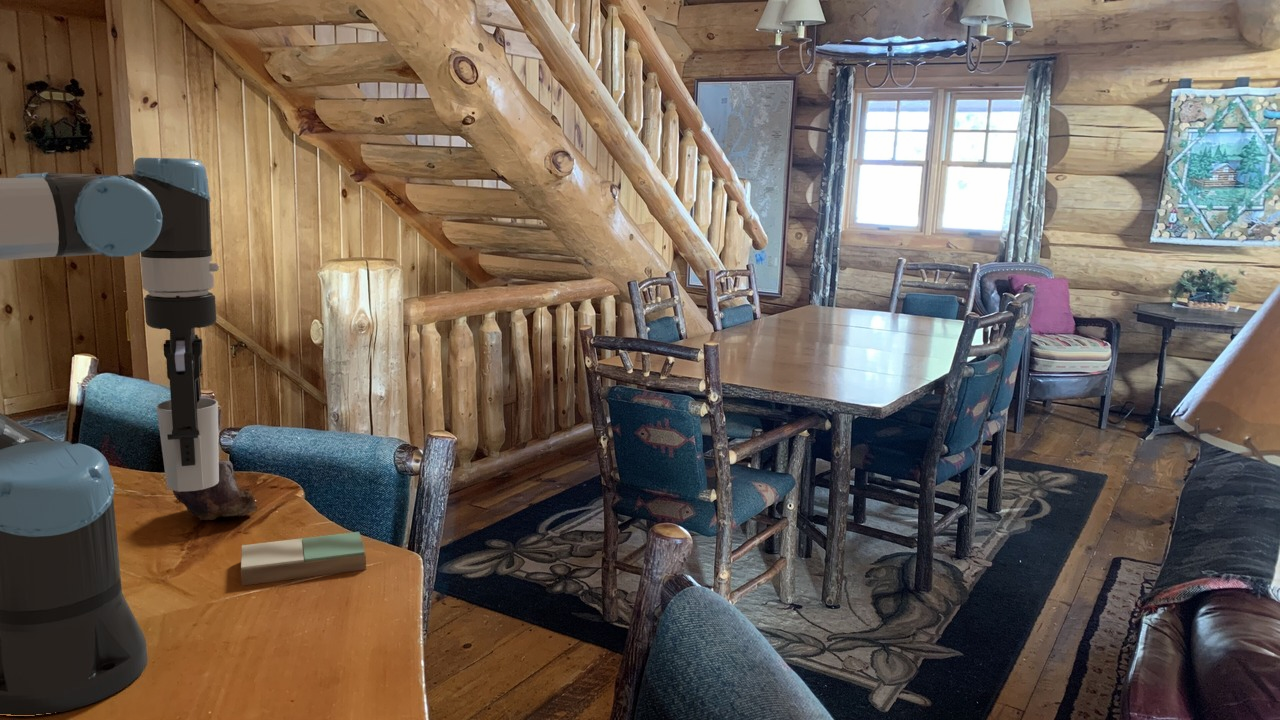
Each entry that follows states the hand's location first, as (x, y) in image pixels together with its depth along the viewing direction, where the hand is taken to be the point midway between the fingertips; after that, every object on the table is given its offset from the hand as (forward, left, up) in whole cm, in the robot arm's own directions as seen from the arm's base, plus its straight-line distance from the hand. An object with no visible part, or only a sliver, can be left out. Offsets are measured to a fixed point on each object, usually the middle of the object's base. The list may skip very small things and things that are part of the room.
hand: (192, 481), depth 116 cm
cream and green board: (+2, -12, -14) cm, 18 cm away
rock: (+25, 0, -14) cm, 29 cm away
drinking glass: (0, 0, -1) cm, 1 cm away
